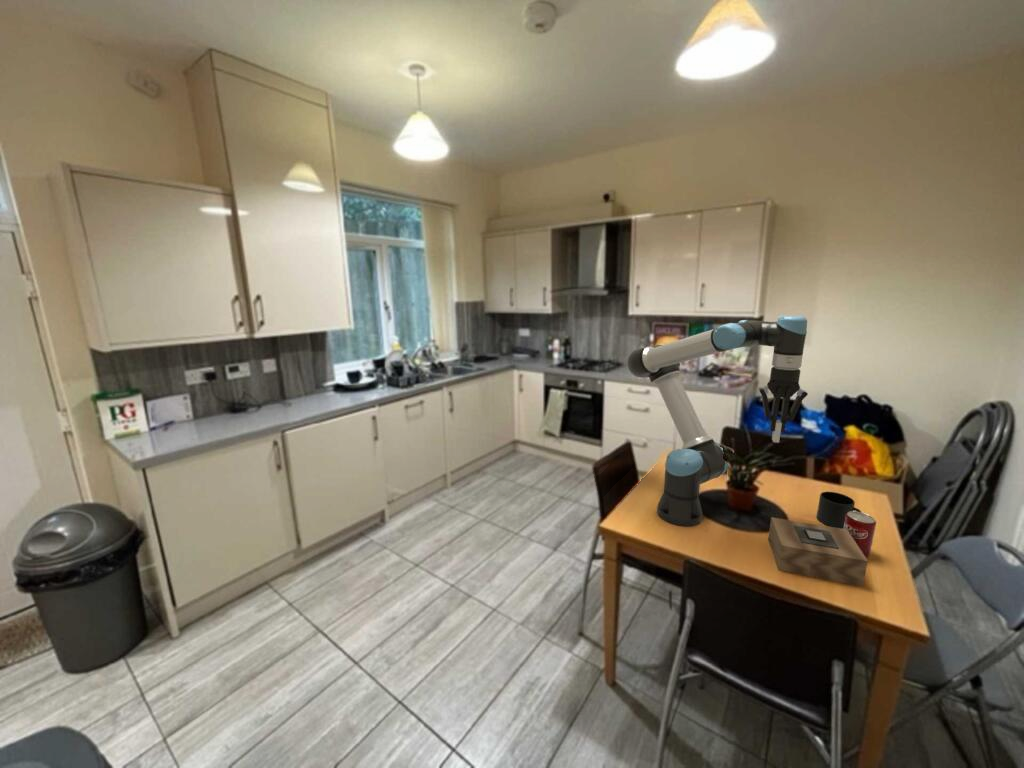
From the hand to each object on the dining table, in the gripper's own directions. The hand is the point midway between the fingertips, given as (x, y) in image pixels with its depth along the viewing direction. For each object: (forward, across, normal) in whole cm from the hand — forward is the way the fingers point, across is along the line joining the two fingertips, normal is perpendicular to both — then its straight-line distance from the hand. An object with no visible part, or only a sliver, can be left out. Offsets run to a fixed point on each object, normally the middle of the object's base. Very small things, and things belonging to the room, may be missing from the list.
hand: (775, 440), depth 134 cm
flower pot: (+33, -10, +48) cm, 59 cm away
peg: (+32, +11, -12) cm, 36 cm away
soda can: (+33, +24, -2) cm, 41 cm away
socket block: (+32, +11, -12) cm, 36 cm away
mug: (+33, +25, +15) cm, 44 cm away
